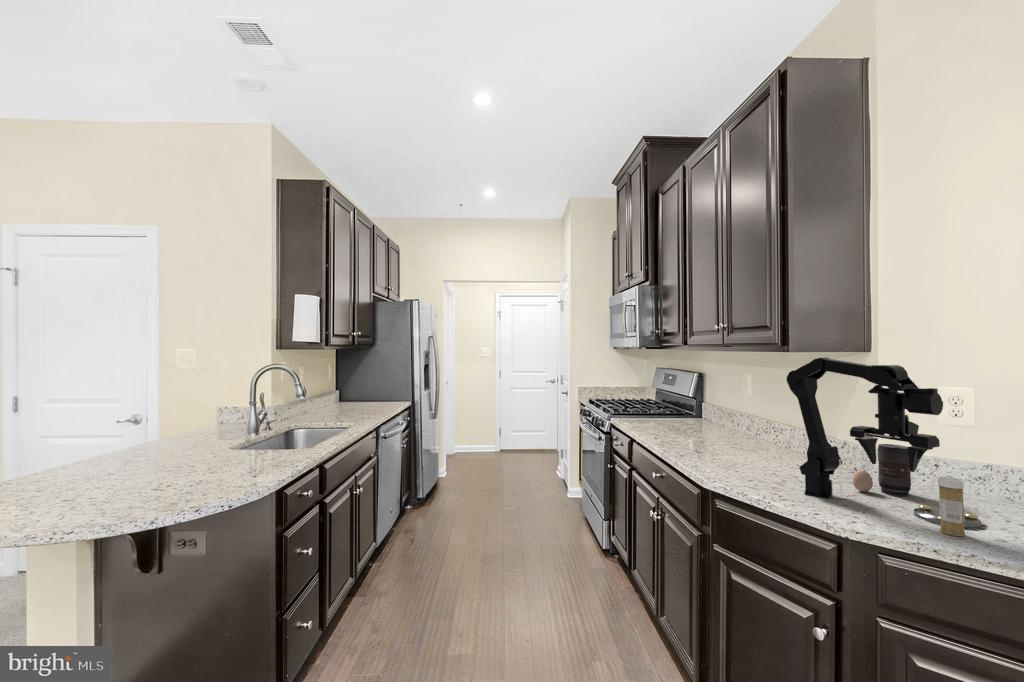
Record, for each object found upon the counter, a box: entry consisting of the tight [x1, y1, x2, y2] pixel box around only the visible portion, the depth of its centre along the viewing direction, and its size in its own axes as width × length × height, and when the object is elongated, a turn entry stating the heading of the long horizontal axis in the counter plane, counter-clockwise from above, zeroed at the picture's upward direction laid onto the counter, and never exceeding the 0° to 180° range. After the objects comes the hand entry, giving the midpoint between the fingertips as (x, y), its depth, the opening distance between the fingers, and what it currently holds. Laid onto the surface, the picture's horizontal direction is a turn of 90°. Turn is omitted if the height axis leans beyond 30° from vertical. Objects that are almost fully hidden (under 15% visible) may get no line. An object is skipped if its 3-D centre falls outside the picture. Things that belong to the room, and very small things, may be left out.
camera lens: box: [877, 443, 912, 497], centre depth 144 cm, size 8×8×15 cm
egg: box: [852, 469, 874, 493], centre depth 145 cm, size 5×5×7 cm
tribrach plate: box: [913, 504, 983, 529], centre depth 121 cm, size 13×13×2 cm
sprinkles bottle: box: [937, 476, 966, 537], centre depth 112 cm, size 5×5×13 cm
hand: (892, 467), depth 124 cm, fingers open, 9 cm apart
